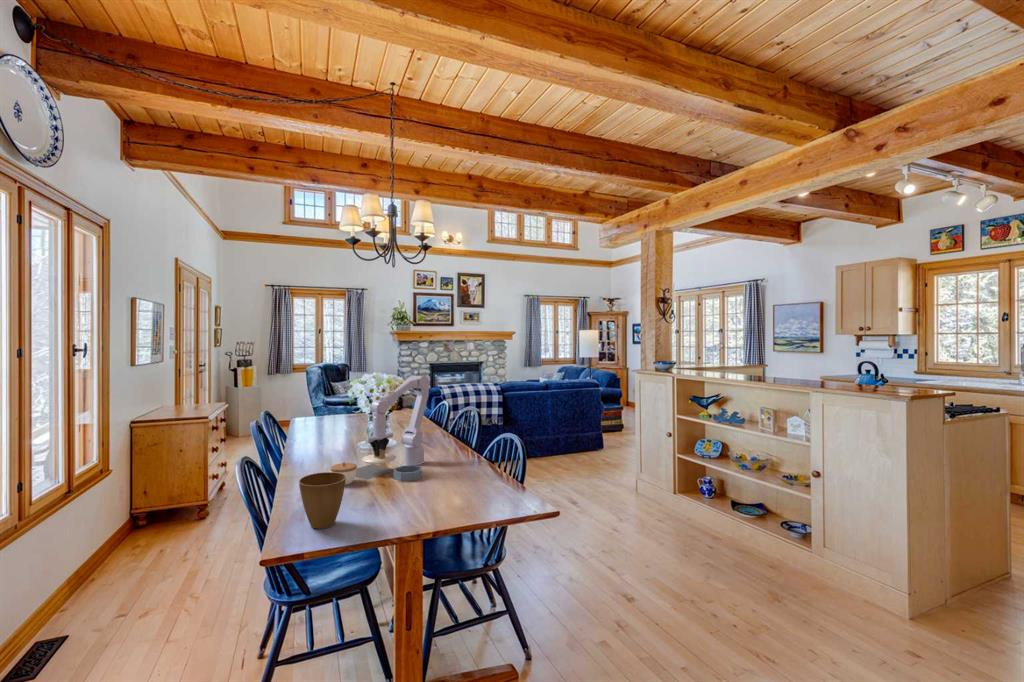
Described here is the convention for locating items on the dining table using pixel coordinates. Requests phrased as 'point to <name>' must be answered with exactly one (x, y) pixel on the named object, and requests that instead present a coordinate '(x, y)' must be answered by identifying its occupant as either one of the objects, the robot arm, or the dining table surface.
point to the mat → (372, 471)
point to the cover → (379, 458)
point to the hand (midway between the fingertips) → (379, 455)
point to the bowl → (407, 473)
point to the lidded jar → (346, 471)
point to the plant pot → (322, 497)
